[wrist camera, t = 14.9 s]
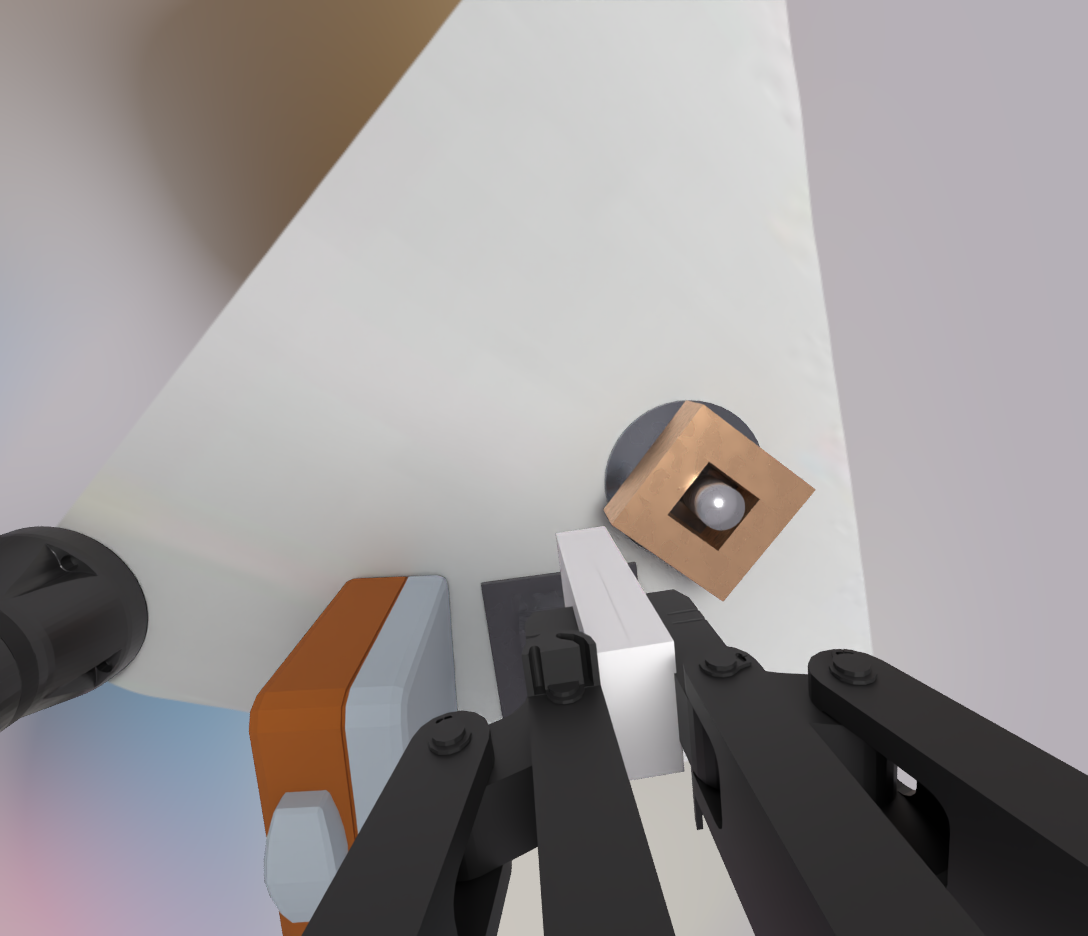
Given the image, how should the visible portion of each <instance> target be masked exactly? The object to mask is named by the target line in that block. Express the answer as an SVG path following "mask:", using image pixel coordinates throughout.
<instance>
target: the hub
mask: <svg viewBox="0 0 1088 936" xmlns="http://www.w3.org/2000/svg"><path fill="white" fill-rule="evenodd" d="M685 401H686V400H685ZM685 401H675V402H670V403H666V404H663V405H660V406H658V407H655V408H653V409H651V410H649V411H647V412H646V413H644V414H643V415H641V416H640V417H638V418H637V419H636V420H635V421H634V422H632V423H631V424H630V425H629V426H628V427H627V429H626V430H625V431H624V432H623V433H622V435H621V436H620V437H619V439H618V440H617V442H616V444H615V446H614V448H613V449H612V452H611V454H610V457H609V460H608V464H607V468H606V475H605V491H606V497H607V502H608V503H609V501H610V500H611V499H612V497H613V496H614V495H615V494H616V492H617V491H618V490H619V488H620V487H621V486H622V484H623V483H624V482H625V480H626V479H627V478H628V476H629V475H630V474H631V472H632V471H633V470H634V468H635V467H636V466H637V465H638V463H639V462H640V461H641V459H642V458H643V457H644V455H645V454H646V453H647V451H648V450H649V449H650V447H651V446H652V445H653V443H654V442H655V441H656V439H657V438H658V437H659V435H660V434H661V433H662V432H663V430H664V429H665V428H666V426H667V425H668V424H669V422H670V421H671V420H672V418H673V417H674V416H675V414H676V413H677V412H678V410H679V409H680V408H681V406H682V405H683V404H684V402H685ZM687 401H691V402H695V403H700V404H704V405H705V406H706V407H707V408H709V409H710V410H711V411H713V412H714V413H715V414H717V415H718V416H719V417H721V418H722V419H723V420H725V421H726V422H727V423H729V424H730V425H731V426H732V427H734V428H735V429H736V430H738V431H739V432H740V433H742V434H743V435H744V436H746V437H747V438H748V439H750V440H751V441H752V442H754V443H755V444H756V445H757V446H759V444H758V441H757V439H756V438H755V436H754V434H753V433H752V431H751V430H750V429H749V427H748V426H747V425H746V424H745V423H744V422H743V421H742V420H741V419H740V418H739V417H737V416H736V415H734V414H733V413H732V412H730V411H728V410H726V409H724V408H722V407H720V406H717V405H714V404H712V403H707V402H702V401H693V400H687ZM759 447H760V446H759ZM737 487H738V486H737V485H736V484H734V483H733V482H732V481H730V480H729V479H728V478H726V477H725V476H723V475H722V474H721V473H719V472H718V471H717V470H715V469H714V468H713V467H711V466H710V465H709V464H707V465H706V466H705V467H704V469H703V470H702V471H701V473H700V474H699V475H698V476H697V478H696V479H695V480H694V482H693V483H692V484H691V485H690V487H689V488H688V489H687V490H686V492H685V493H684V494H683V496H682V497H681V498H680V499H679V501H678V502H677V503H676V505H675V506H674V507H673V508H672V510H671V511H670V513H672V514H673V515H675V516H676V517H677V518H679V519H680V520H682V521H683V522H684V523H686V524H687V525H689V526H690V527H692V528H693V529H694V530H696V531H697V532H699V533H700V534H701V533H702V531H703V530H704V529H705V528H706V526H709V527H710V528H712V529H715V530H727V529H730V528H732V527H734V526H735V525H737V524H738V523H739V522H740V520H741V519H742V517H743V515H744V511H745V503H744V499H743V497H742V496H741V494H740V493H739V492H738V491H736V489H737ZM628 537H629V536H628ZM629 538H630V537H629ZM630 539H631V540H632V541H633V542H635V543H636V544H638V545H639V546H641V547H642V548H644V549H646V548H645V547H643V546H642V545H640V544H639V543H638V542H636V541H635V540H633V539H632V538H630ZM646 550H648V549H646ZM648 551H649V550H648Z"/></svg>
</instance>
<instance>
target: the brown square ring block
mask: <svg viewBox="0 0 1088 936" xmlns="http://www.w3.org/2000/svg"><path fill="white" fill-rule="evenodd" d="M707 464H709V465H710V466H711V467H713V468H714V469H715V470H717V471H718V472H719V473H721V474H722V475H723V476H725V477H726V478H728V479H729V480H730V481H732V482H733V483H734V484H736V485H737V486H738V487H737V489H736V491H738V492H739V493H740V494H741V496H742V497H743V499H744V503H745V511H744V515H743V517H742V519H741V520H740V522H739V523H738V524H737V525H735V526H734V527H732V528H730V529H727V530H715V529H712V528H710V527H709V526H706V528H705V529H704V530H703V531H702V533H701V534H700V533H699V532H697V531H696V530H694V529H693V528H692V527H690V526H689V525H687V524H686V523H684V522H683V521H682V520H680V519H679V518H677V517H676V516H675V515H673V514H672V513H670V511H671V510H672V508H673V507H674V506H675V505H676V503H677V502H678V501H679V499H680V498H681V497H682V496H683V494H684V493H685V492H686V490H687V489H688V488H689V487H690V485H691V484H692V483H693V482H694V480H695V479H696V478H697V476H698V475H699V474H700V473H701V471H702V470H703V469H704V467H705V466H706V465H707ZM814 491H815V489H814V488H813V487H811V486H810V485H809V484H807V483H806V482H805V481H804V480H802V479H801V478H800V477H798V476H797V475H796V474H794V473H793V472H792V471H790V470H789V469H788V468H786V467H785V466H784V465H782V464H781V463H780V462H779V461H777V460H776V459H775V458H773V457H772V456H771V455H769V454H768V453H767V452H765V451H764V450H763V449H761V448H760V447H759V446H757V445H756V444H755V443H754V442H752V441H751V440H750V439H748V438H747V437H746V436H744V435H743V434H742V433H740V432H739V431H738V430H736V429H735V428H734V427H732V426H731V425H730V424H729V423H727V422H726V421H725V420H723V419H722V418H721V417H719V416H718V415H717V414H715V413H714V412H713V411H711V410H710V409H709V408H707V407H706V406H705V405H704V404H700V403H695V402H691V401H687V400H686V401H685V402H684V404H683V405H682V406H681V408H680V409H679V410H678V412H677V413H676V414H675V416H674V417H673V418H672V420H671V421H670V422H669V424H668V425H667V426H666V428H665V429H664V430H663V432H662V433H661V434H660V435H659V437H658V438H657V439H656V441H655V442H654V443H653V445H652V446H651V447H650V449H649V450H648V451H647V453H646V454H645V455H644V457H643V458H642V459H641V461H640V462H639V463H638V465H637V466H636V467H635V468H634V470H633V471H632V472H631V474H630V475H629V476H628V478H627V479H626V480H625V482H624V483H623V484H622V486H621V487H620V488H619V490H618V491H617V492H616V494H615V495H614V496H613V497H612V499H611V500H610V501H609V503H608V504H607V505H606V507H605V508H604V509H603V510H604V512H605V513H606V515H607V517H608V519H609V521H610V523H611V524H612V525H613V526H614V527H616V528H617V529H619V530H620V531H622V532H623V533H624V534H626V535H627V536H629V537H630V538H632V539H633V540H635V541H636V542H638V543H639V544H640V545H642V546H643V547H645V548H646V549H648V550H649V551H651V552H652V553H653V554H655V555H656V556H658V557H659V558H661V559H662V560H664V561H665V562H666V563H668V564H669V565H671V566H672V567H674V568H675V569H677V570H678V571H680V572H681V573H682V574H684V575H685V576H687V577H688V578H690V579H691V580H693V581H694V582H695V583H697V584H698V585H700V586H701V587H703V588H704V589H706V590H707V591H709V592H710V593H711V594H713V595H714V596H716V597H717V598H719V599H720V600H722V601H724V600H725V599H726V598H727V596H728V595H729V594H730V593H731V591H732V590H733V589H734V588H735V587H736V585H737V584H738V583H739V582H740V581H741V579H742V578H743V577H744V576H745V575H746V573H747V572H748V571H749V570H750V568H751V567H752V566H753V565H754V564H755V562H756V561H757V560H758V559H759V558H760V556H761V555H762V554H763V553H764V552H765V550H766V549H767V548H768V547H769V545H770V544H771V543H772V542H773V541H774V539H775V538H776V537H777V536H778V535H779V533H780V532H781V531H782V530H783V529H784V527H785V526H786V525H787V524H788V522H789V521H790V520H791V519H792V518H793V516H794V515H795V514H796V513H797V512H798V510H799V509H800V508H801V507H802V506H803V504H804V503H805V502H806V501H807V499H808V498H809V497H810V496H811V495H812V493H813V492H814Z"/></svg>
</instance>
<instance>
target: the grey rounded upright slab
mask: <svg viewBox="0 0 1088 936" xmlns="http://www.w3.org/2000/svg"><path fill="white" fill-rule="evenodd" d="M456 711H457V701H456V688H455V674H454V660H453V646H452V631H451V617H450V603H449V590H448V584H447V581H446V578H444V577H441V576H439V575H430V576H409V577H384V578H360V579H352V580H350V581H348V582H346V584H345V585H344V586H343V587H342V589H341V590H340V591H339V592H338V594H337V595H336V596H335V597H334V599H333V600H332V601H331V603H330V604H329V605H328V606H327V608H326V609H325V610H324V611H323V613H322V614H321V615H320V616H319V618H318V619H317V620H316V621H315V623H314V624H313V625H312V627H311V628H310V629H309V630H308V632H307V633H306V634H305V635H304V637H303V638H302V639H301V640H300V642H299V643H298V644H297V645H296V647H295V648H294V649H293V651H292V652H291V653H290V654H289V656H288V657H287V658H286V659H285V661H284V662H283V663H282V664H281V666H280V667H279V668H278V669H277V671H276V672H275V673H274V675H273V676H272V677H271V678H270V680H269V681H268V682H267V683H266V685H265V686H264V687H263V688H262V690H261V691H260V692H259V693H258V695H257V696H256V699H255V701H254V704H253V706H252V709H251V711H250V723H249V735H250V740H251V747H252V753H253V758H254V765H255V771H256V776H257V782H258V788H259V794H260V800H261V807H262V813H263V819H264V824H265V831H266V837H267V839H266V848H265V856H264V879H265V880H264V881H265V884H266V886H267V889H268V892H269V895H270V897H271V898H272V900H273V901H274V903H275V905H276V906H277V908H278V910H279V915H280V921H281V927H282V933H283V936H301V935H302V934H303V932H304V930H305V928H306V926H307V925H308V923H309V921H310V919H311V918H312V916H313V914H314V912H315V910H316V909H317V907H318V905H319V903H320V901H321V900H322V898H323V896H324V894H325V892H326V891H327V889H328V887H329V885H330V884H331V882H332V880H333V878H334V876H335V875H336V873H337V871H338V869H339V867H340V866H341V864H342V862H343V860H344V858H345V857H346V855H347V853H348V851H349V850H350V848H351V846H352V844H353V842H354V841H355V839H356V837H357V835H358V833H359V832H360V830H361V828H362V826H363V825H364V823H365V821H366V819H367V817H368V816H369V814H370V812H371V810H372V808H373V807H374V805H375V803H376V801H377V799H378V798H379V796H380V794H381V792H382V791H383V789H384V787H385V785H386V783H387V782H388V780H389V778H390V776H391V774H392V773H393V771H394V769H395V767H396V765H397V764H398V762H399V760H400V758H401V757H402V755H403V753H404V751H405V749H406V748H407V746H408V744H409V742H410V740H411V739H412V737H413V736H414V735H415V733H416V732H417V731H418V730H419V729H420V727H421V726H423V725H424V724H426V723H427V722H429V721H430V720H432V719H433V718H435V717H438V716H440V715H443V714H446V713H449V712H456Z"/></svg>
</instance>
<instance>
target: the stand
mask: <svg viewBox="0 0 1088 936" xmlns="http://www.w3.org/2000/svg"><path fill="white" fill-rule="evenodd" d="M627 564H628V565H629V567H630V569H631V570H632V572H633V574H634V575H635V577H636V579H637V580H638V578H637V567H636V563H635V562H631V563H627ZM481 586H482V593H483V599H484V605H485V611H486V617H487V623H488V629H489V635H490V642H491V648H492V654H493V660H494V666H495V672H496V678H497V684H498V691H499V697H500V703H501V709H502V715H503V718H505V717H507V716H509V715H511V714H512V713H513V712H515V711H516V710H517V709H519V708H520V706H521V705H522V704H523V703H524V702H525V700H526V698H527V690H526V683H525V676H524V670H523V663H522V656H521V655H522V651H523V648H524V646H525V645H526V636H525V623H526V621H527V620H528V618H529V617H530V615H531V614H532V612H538V611H544V610H551V609H557V608H564V607H565V602H564V594H563V587H562V579H561V572H557V573H550V574H542V575H535V576H528V577H520V578H513V579H506V580H498V581H491V582H483V583H482V584H481Z"/></svg>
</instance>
